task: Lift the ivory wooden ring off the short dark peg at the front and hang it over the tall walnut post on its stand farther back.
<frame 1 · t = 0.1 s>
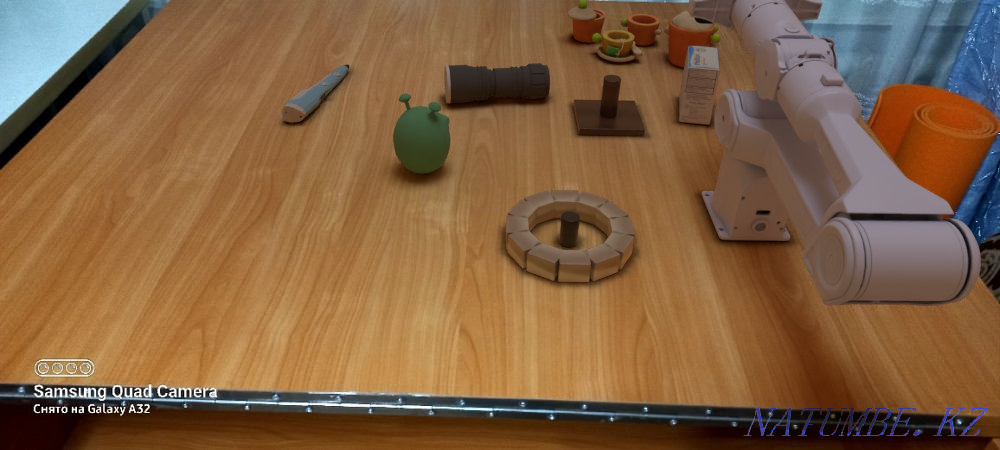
low peg: (568, 242, 82), on the table
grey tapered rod: (320, 97, 110), on the table
ring: (568, 242, 82), on the table
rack: (607, 120, 106), on the table
medicine box: (693, 113, 109), on the table
alien toy: (424, 170, 94), on the table
flashlight: (495, 100, 110), on the table
toy tea set: (640, 51, 127), on the table
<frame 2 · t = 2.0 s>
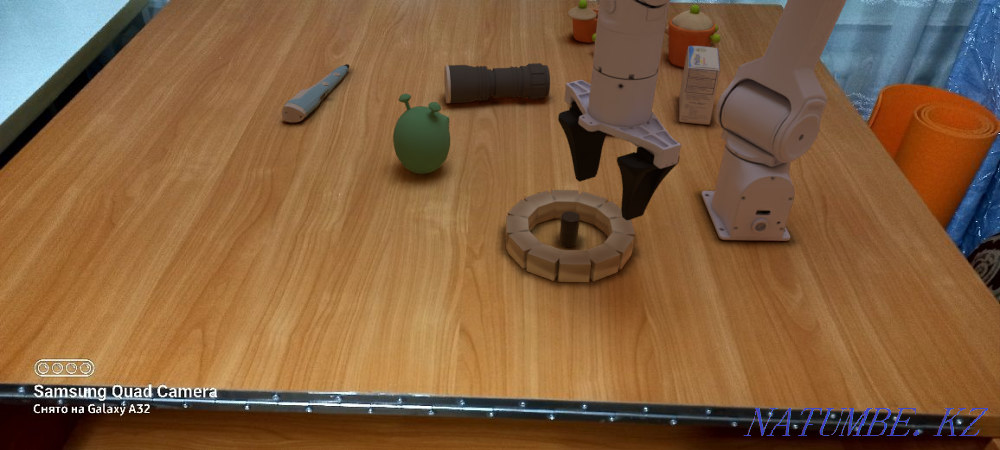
hand: (608, 196, 73), 9 cm above the table, tool pointing down, fingers open, 7 cm apart
nothing on the table moved.
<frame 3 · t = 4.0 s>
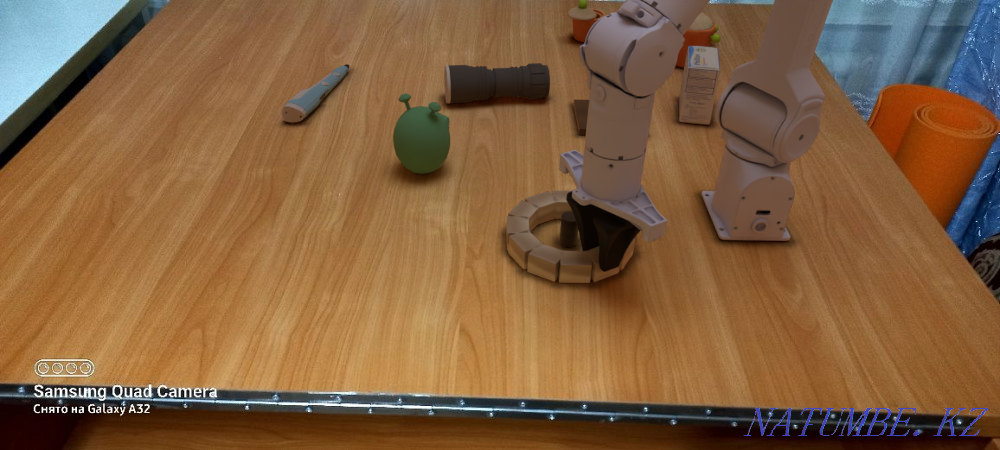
hand: (600, 259, 77), 2 cm above the table, tool pointing down, fingers closed on ring, 2 cm apart
ring: (568, 242, 82), on the table, touching gripper
everything else where it was.
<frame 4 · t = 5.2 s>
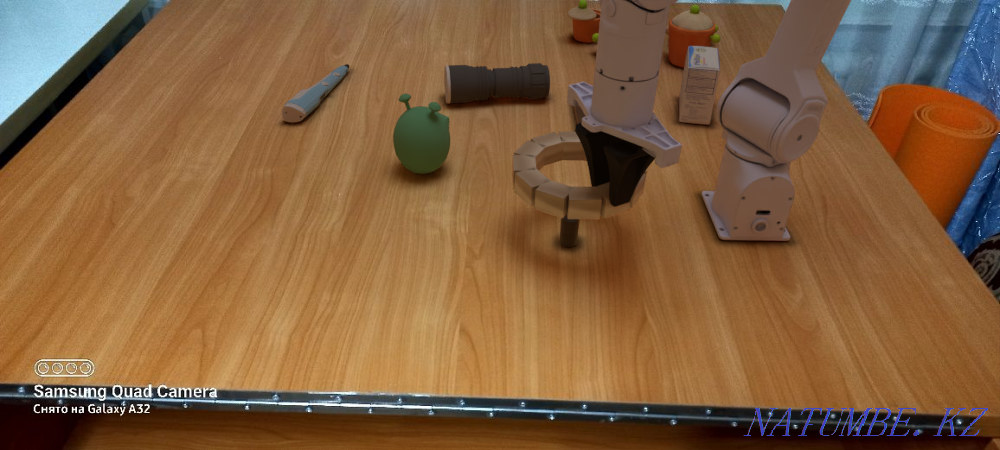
hand: (610, 195, 74), 9 cm above the table, tool pointing down, fingers closed on ring, 2 cm apart
ring: (576, 182, 79), point 7 cm above the table, touching gripper
everything else where it was.
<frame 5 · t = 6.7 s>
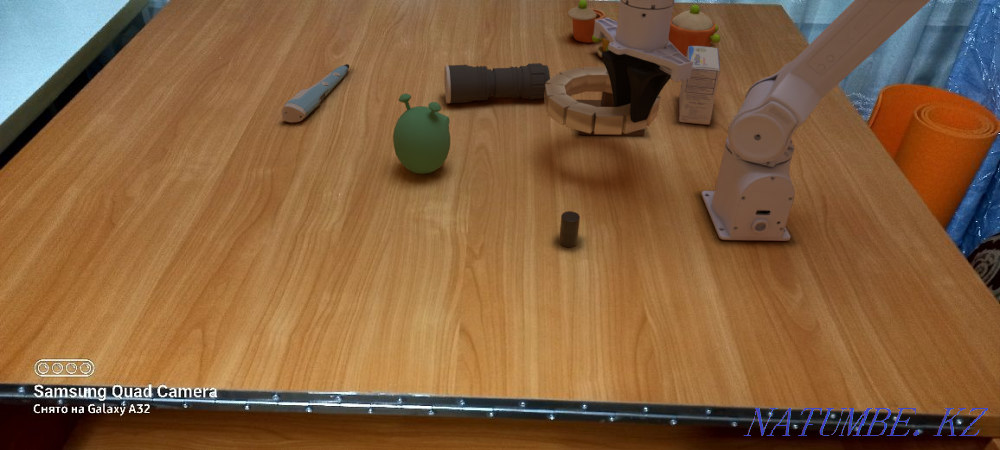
hand: (630, 114, 87), 9 cm above the table, tool pointing down, fingers closed on ring, 2 cm apart
ring: (600, 107, 92), point 8 cm above the table, touching gripper
everything else where it was.
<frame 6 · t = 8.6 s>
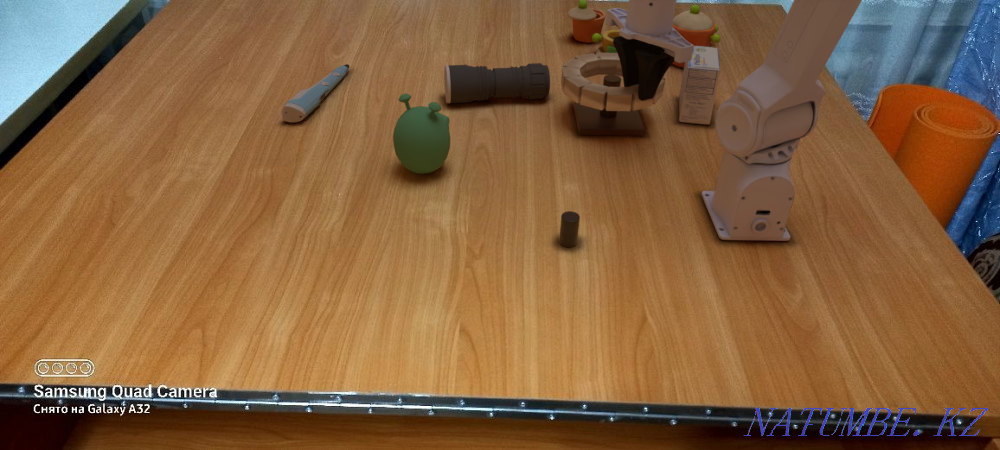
hand: (638, 93, 98), 7 cm above the table, tool pointing down, fingers closed on ring, 2 cm apart
ring: (611, 88, 103), point 5 cm above the table, touching gripper
everything else where it was.
when the fingers open (3 cm above the table, at t = 9.9 s): ring stays where it is, resting on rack.
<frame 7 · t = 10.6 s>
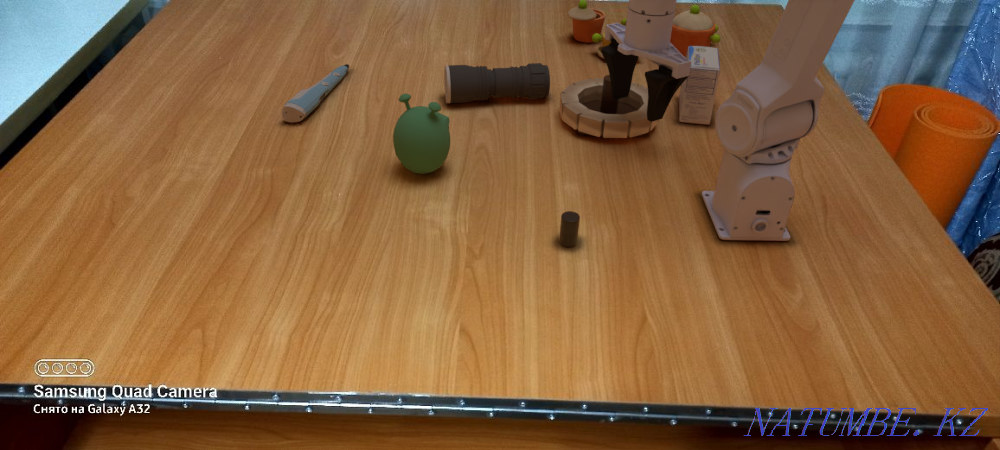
hand: (637, 107, 99), 5 cm above the table, tool pointing down, fingers open, 7 cm apart
ring: (608, 114, 105), point 1 cm above the table, touching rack
everything else where it was.
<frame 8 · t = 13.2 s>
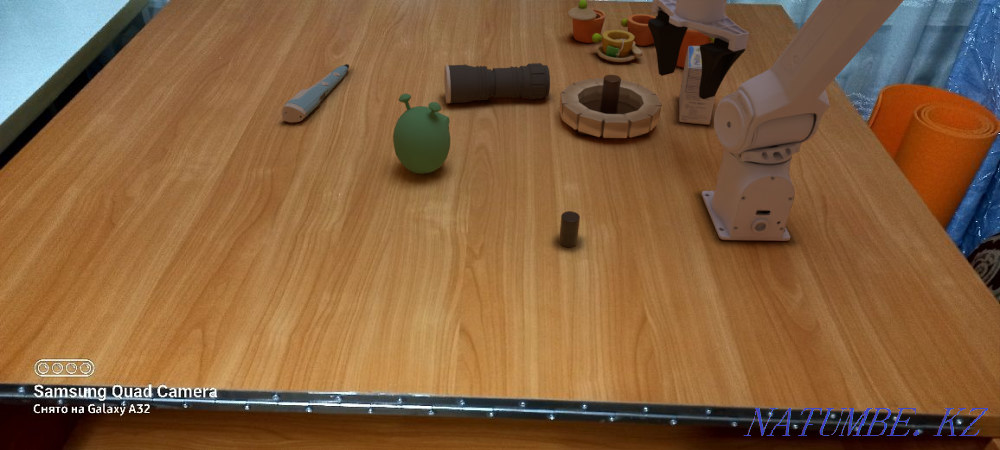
hand: (686, 84, 94), 9 cm above the table, tool pointing down, fingers open, 7 cm apart
nothing on the table moved.
at the end: ring 0.1 cm off-centre on the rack, point 1.0 cm above the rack's base; the gripper is holding nothing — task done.
